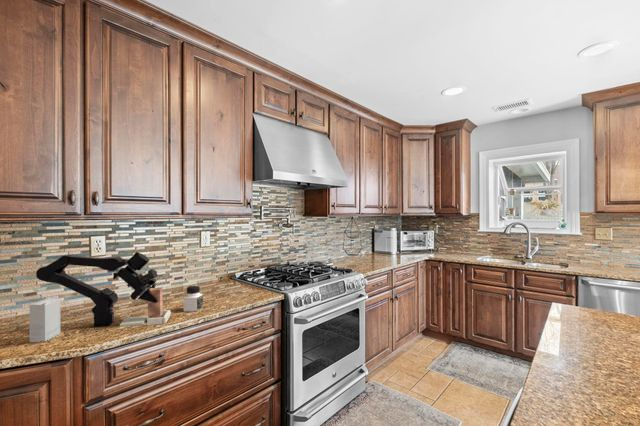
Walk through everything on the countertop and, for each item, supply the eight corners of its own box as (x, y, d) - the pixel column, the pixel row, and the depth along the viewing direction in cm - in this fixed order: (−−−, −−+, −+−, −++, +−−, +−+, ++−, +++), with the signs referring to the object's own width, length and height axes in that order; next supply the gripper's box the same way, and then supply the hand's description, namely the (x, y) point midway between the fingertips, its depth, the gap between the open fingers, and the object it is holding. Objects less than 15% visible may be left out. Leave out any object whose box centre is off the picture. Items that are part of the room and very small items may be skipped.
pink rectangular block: (148, 317, 138) (147, 290, 138) (150, 313, 143) (150, 288, 143) (160, 316, 140) (160, 289, 140) (162, 312, 144) (162, 287, 144)
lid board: (119, 326, 133) (119, 324, 133) (126, 320, 142) (126, 317, 142) (143, 324, 136) (143, 322, 136) (148, 317, 144) (148, 315, 144)
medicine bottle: (197, 311, 153) (197, 287, 153) (183, 311, 153) (183, 287, 154) (203, 307, 160) (202, 284, 160) (189, 307, 161) (189, 284, 161)
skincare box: (45, 334, 125) (45, 298, 125) (61, 334, 126) (61, 297, 126) (28, 343, 117) (28, 304, 117) (45, 342, 117) (45, 303, 117)
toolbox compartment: (147, 325, 135) (147, 319, 135) (153, 316, 146) (153, 311, 146) (165, 323, 137) (165, 317, 137) (170, 314, 148) (170, 309, 148)
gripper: (138, 268, 131) (166, 292, 134) (151, 261, 150) (176, 283, 152) (118, 287, 130) (147, 311, 132) (133, 278, 148) (159, 300, 150)
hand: (158, 300), depth 142 cm, fingers closed on pink rectangular block, 5 cm apart
